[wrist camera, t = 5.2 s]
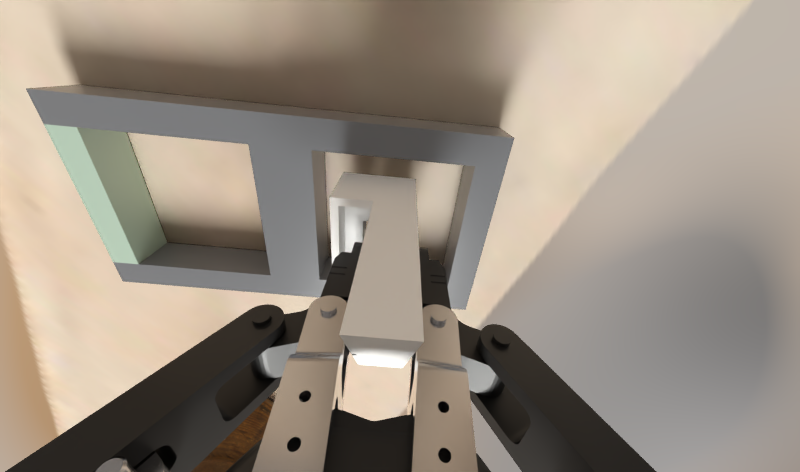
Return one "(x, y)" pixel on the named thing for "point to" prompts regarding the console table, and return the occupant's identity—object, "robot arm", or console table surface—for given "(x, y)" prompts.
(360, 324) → the white wedge bracket
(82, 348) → the console table surface
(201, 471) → the utensil holder
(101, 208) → the port panel
